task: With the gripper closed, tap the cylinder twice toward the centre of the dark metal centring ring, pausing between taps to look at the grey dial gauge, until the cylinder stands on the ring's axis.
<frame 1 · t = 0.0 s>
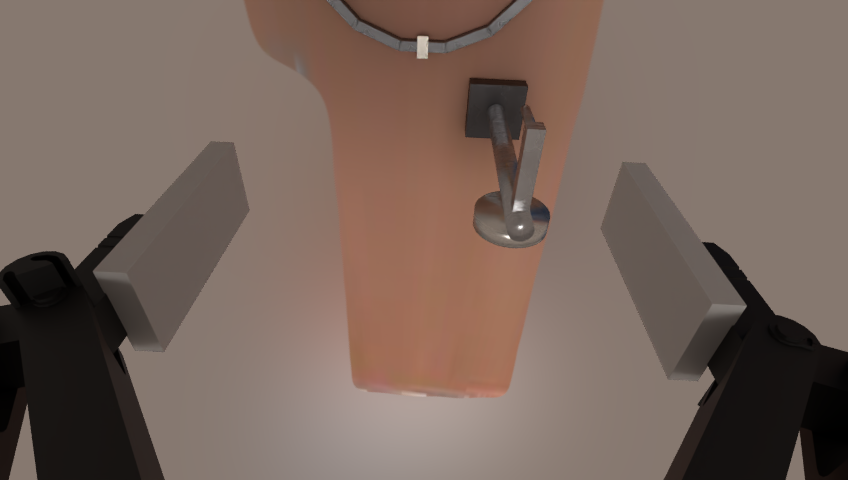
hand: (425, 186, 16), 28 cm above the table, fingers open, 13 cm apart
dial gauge: (494, 106, 43), on the table
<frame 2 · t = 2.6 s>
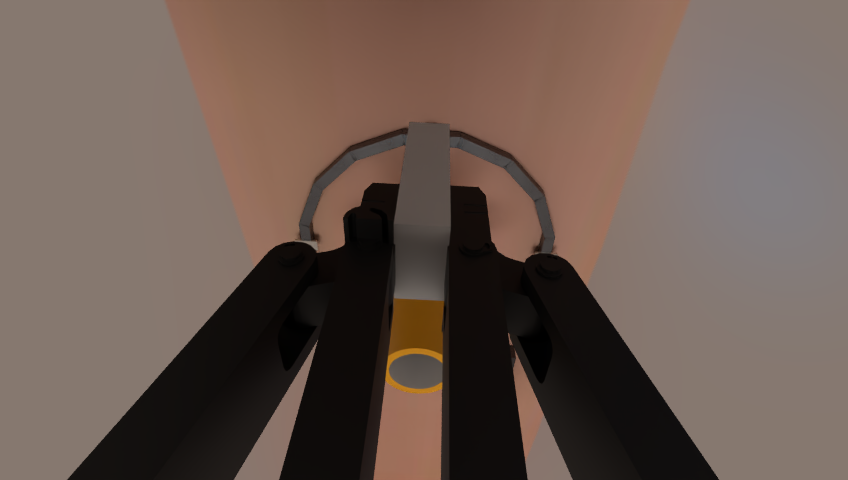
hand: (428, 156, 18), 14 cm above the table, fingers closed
centring ring: (426, 243, 39), on the table
cylinder: (427, 212, 37), resting in centring ring
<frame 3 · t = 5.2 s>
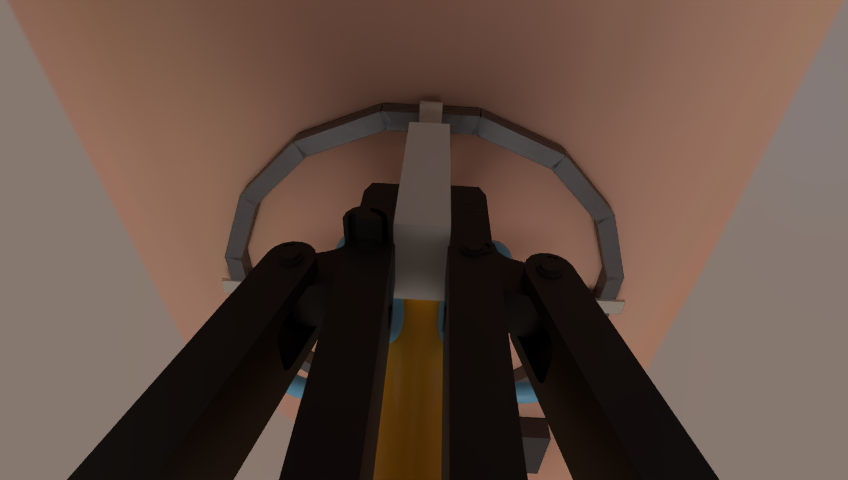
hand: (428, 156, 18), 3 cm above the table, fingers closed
centring ring: (423, 284, 26), on the table
cylinder: (425, 250, 24), resting in centring ring, touching gripper
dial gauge: (506, 435, 35), on the table
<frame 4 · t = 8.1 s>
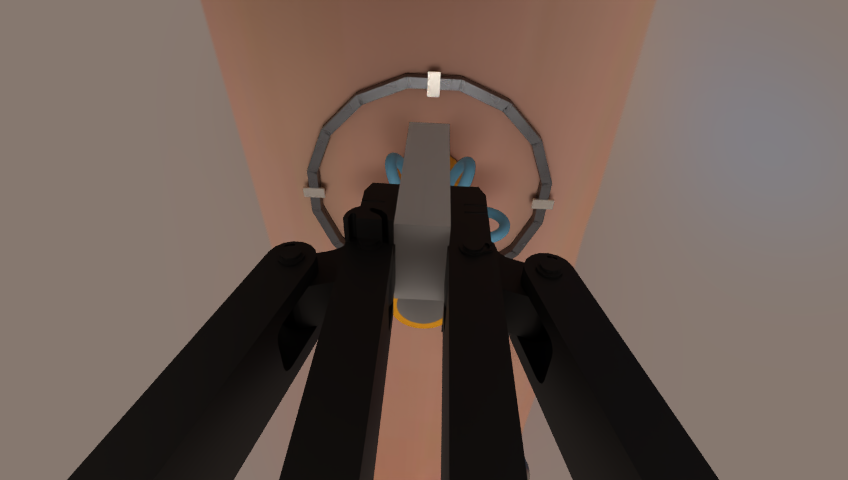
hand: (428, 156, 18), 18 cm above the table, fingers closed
centring ring: (428, 192, 41), on the table
cylinder: (430, 178, 40), resting in centring ring
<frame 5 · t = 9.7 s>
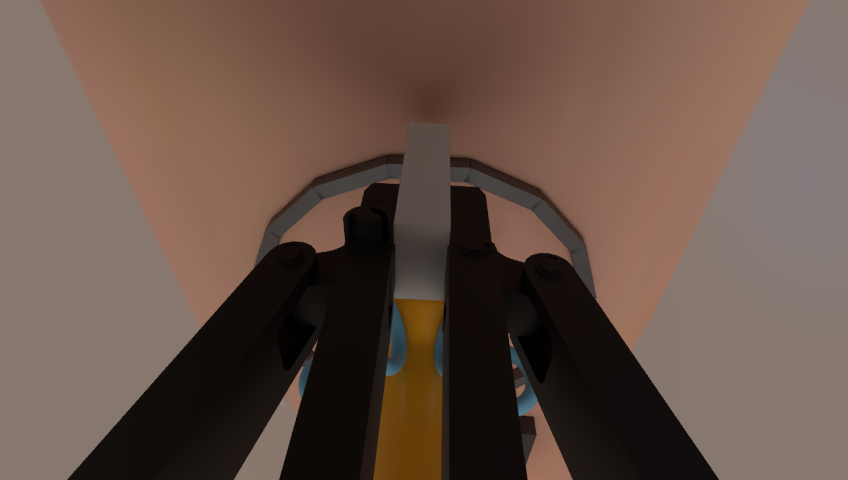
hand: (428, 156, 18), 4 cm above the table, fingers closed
centring ring: (422, 301, 29), on the table
cylinder: (424, 284, 29), resting in centring ring
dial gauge: (498, 431, 39), on the table
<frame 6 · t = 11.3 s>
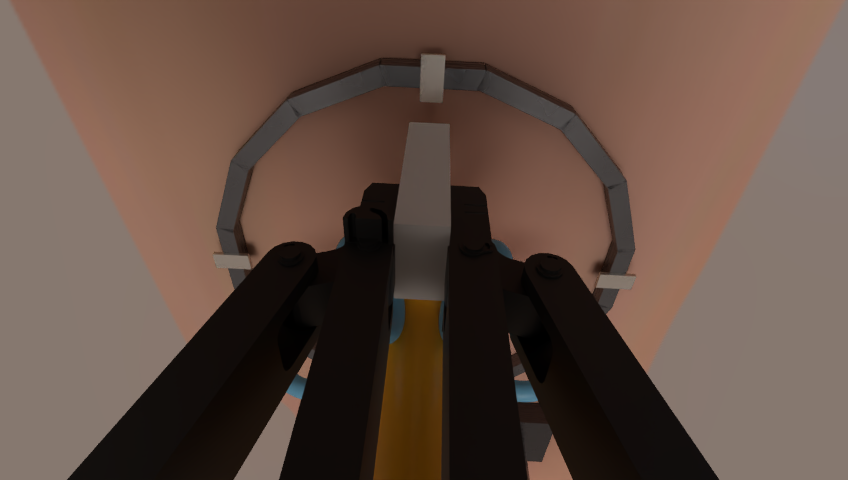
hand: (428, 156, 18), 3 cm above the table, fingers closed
centring ring: (424, 258, 24), on the table
cylinder: (426, 250, 24), resting in centring ring, touching gripper
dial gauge: (510, 422, 34), on the table
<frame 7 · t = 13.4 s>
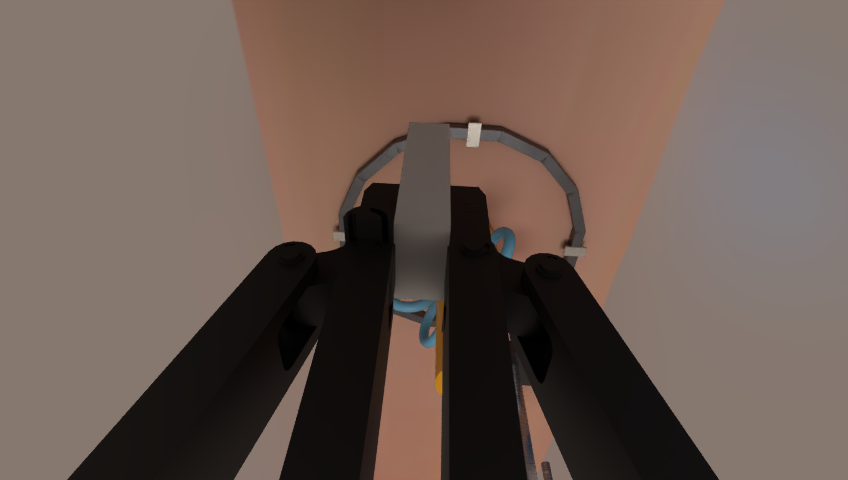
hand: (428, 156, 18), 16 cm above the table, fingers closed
centring ring: (459, 237, 40), on the table
cylinder: (460, 238, 40), resting in centring ring
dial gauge: (509, 357, 49), on the table
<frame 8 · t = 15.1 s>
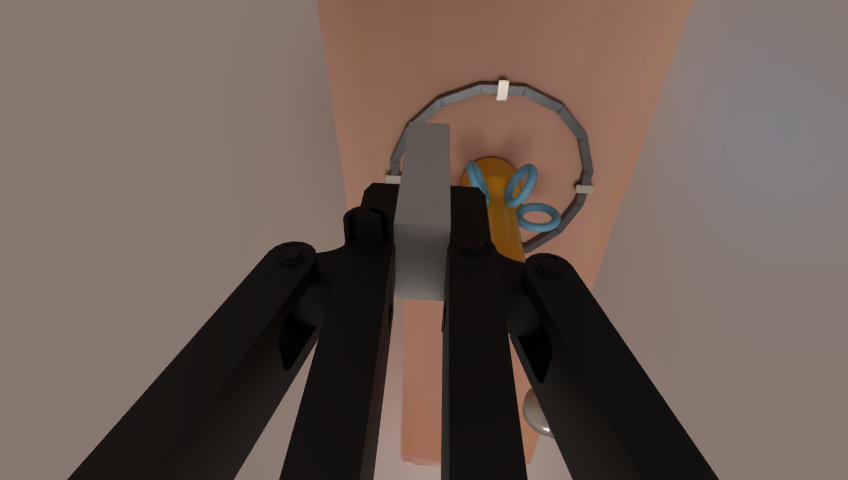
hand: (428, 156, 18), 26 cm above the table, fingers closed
centring ring: (488, 179, 49), on the table
cylinder: (489, 180, 49), resting in centring ring
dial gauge: (528, 287, 58), on the table
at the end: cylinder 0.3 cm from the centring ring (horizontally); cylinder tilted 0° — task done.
